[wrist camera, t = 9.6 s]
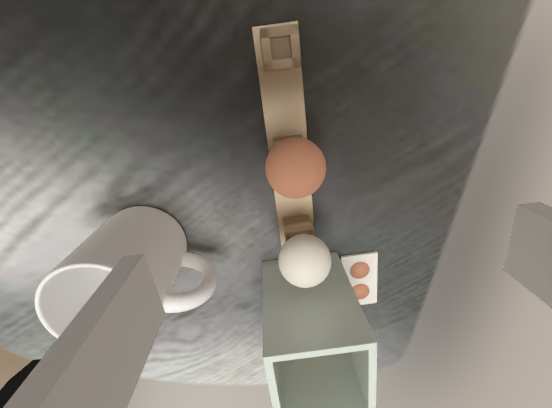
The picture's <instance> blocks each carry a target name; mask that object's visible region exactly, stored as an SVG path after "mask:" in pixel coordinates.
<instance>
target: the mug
mask: <svg viewBox="0 0 552 408" xmlns="http://www.w3.org/2000/svg"><path fill="white" fill-rule="evenodd" d="M186 251H187V241H186V237H185V234H184V231H183V230H182V228H181V226H180V225H179V224H178V222H177V221H176V220H175V219H174V218H172V217H171V216H170V215H168V214H167V213H165V212H163V211H161V210H158V209H156V208H152V207H146V206H136V207H130V208H126V209H124V210H121V211H119V212H118V213H116V214H115V215H113V216H112V217H111V218H109V219H108V220H107V221H106V222H105V223H104V224H103V225H101V226H100V227H99V228H98V229H97V230H96V231H95V232H94V233H93V234H92V235H91V236H89V237H88V238H87V239H86V240H85V241H84V242H83V243H82V244H81V245H80V246H78V247H77V248H76V249H75V250H74V251H73V252H72V253H71V254H70V255H69V256H67V257H66V258H65V259H64V260H63V261H62V262H61V263H60V264H59V265H58V266H57V267H55V268H54V269H53V270H52V271H51V272H50V273H49V274H48V275H47V276H46V277H45V278H44V279H43V280H42V281H41V283H40V284H39V286H38V288H37V291H36V294H35V308H36V312H37V315H38V317H39V319H40V321H41V323H42V324H43V325H44V327H45V328H46V329H47V330H48V331H49V332H50V333H51V334H52V335H53V336H55V337H56V338H57V339H58V337H59V336H60V335H61V334H62V332H63V331H64V330H65V329H66V327H67V326H68V325H69V324H70V322H71V321H72V320H73V318H74V317H75V316H76V315H77V313H78V312H79V311H80V310H81V308H82V307H83V306H84V305H85V303H86V302H87V301H88V299H89V298H90V297H91V296H92V294H93V293H94V292H95V291H96V289H97V288H98V287H99V286H100V284H101V283H102V282H103V281H104V279H105V278H106V277H107V275H108V274H109V273H110V272H111V270H112V269H113V268H114V267H115V265H116V264H117V263H118V262H119V260H120V259H121V258H122V257H123V256H128V255H136V254H145V257H146V259H147V262H148V265H149V268H150V271H151V274H152V277H153V279H154V282H155V285H156V288H157V291H158V294H159V297H160V299H161V302H162V305H163V308H164V311H165V313H176V312H183V311H187V310H191V309H193V308H196V307H198V306H200V305H201V304H203V303H204V302H205V301H207V300H208V299H209V298H210V297H211V296H212V294H213V293H214V291H215V289H216V287H217V283H218V274H217V270H216V268H215V267H214V265H213V264H212V263H211V262H210V261H209V260H208V259H206V258H204V257H202V256H200V255H197V254H193V253H189V252H186ZM181 267H189V268H193V269H196V270H198V271H200V272H201V273H202V274H203V277H204V279H203V282H202V284H201V285H200V286H199V287H198V288H196V289H194V290H192V291H189V292H183V293H174V292H171V290H172V288H173V285H174V283H175V281H176V278H177V276H178V273H179V271H180V268H181Z"/></svg>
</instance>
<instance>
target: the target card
mask: <svg viewBox="0 0 552 408" xmlns="http://www.w3.org/2000/svg"><path fill="white" fill-rule="evenodd" d="M377 261H378V252H377V251H374V252H366V253H359V254H351V255H344V256H341V263H342V265H343V267H344V269H345V272H346V274H347V276H348V278H349V281H350V283H351V285H352V287H353V290H354V292H355V294H356V296H357V299H358V301H359V303H360V305H363V304H371V303H377Z"/></svg>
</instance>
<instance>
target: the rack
mask: <svg viewBox="0 0 552 408" xmlns="http://www.w3.org/2000/svg"><path fill="white" fill-rule="evenodd" d="M252 31H253V39H254V46H255V53H256V61H257V68H258V76H259V83H260V91H261V98H262V106H263V113H264V121H265V128H266V136H267V143H268V151H269V153H270V151H271V150H272V148H273V147H274V146H275V145H277V144H278V143H279V142H281V141H283V140H285V139H288V138H295V137H298V138H304V139H307V129H306V117H305V104H304V92H303V79H302V66H301V53H300V41H299V28H298V21H294V22H286V23H279V24H271V25H264V26H256V27H252ZM274 195H275V203H276V210H277V218H278V225H279V233H280V240H281V247H282V246H283V245H284V243H285V242H286V241H287V240H289V239H290V238H291V237H293V236H296V235H299V234H309V235H313V236H315V230H314V217H313V205H312V194H311V195H309V196H307V197H304V198H299V199H292V198H287V197H284V196H282V195H280V194H279V193H277V192H276V191H275V190H274Z"/></svg>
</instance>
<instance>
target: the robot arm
mask: <svg viewBox="0 0 552 408" xmlns="http://www.w3.org/2000/svg"><path fill="white" fill-rule="evenodd" d="M503 270H504V271H505V272H506V273H507V274H509V275H510V276H511V277H513V278H514V279H515V280H516V281H518V282H519V283H521V284H522V285H523V286H524V287H525V288H527V289H528V290H529V291H531V292H532V293H533V294H534V295H536V296H537V297H538V298H540V299H541V300H542V301H543V302H545V303H546V304H547V305H548V306H550V307H551V308H552V207H550V206H548V205H545V204H543V203H541V202H536V203H528V204H520V205H517V210H516V214H515V219H514V224H513V228H512V232H511V237H510V242H509V246H508V250H507V255H506V260H505V264H504V269H503ZM164 316H165V311H164V308H163V305H162V302H161V299H160V297H159V294H158V291H157V288H156V285H155V282H154V279H153V277H152V274H151V271H150V268H149V265H148V262H147V259H146V257H145V254H136V255H128V256H123V257H122V258H121V259H120V260H119V262H118V263H117V264H116V265H115V267H114V268H113V269H112V270H111V272H110V273H109V274H108V275H107V277H106V278H105V279H104V281H103V282H102V283H101V284H100V286H99V287H98V288H97V289H96V291H95V292H94V293H93V294H92V296H91V297H90V298H89V299H88V301H87V302H86V303H85V305H84V306H83V307H82V308H81V310H80V311H79V312H78V313H77V315H76V316H75V317H74V318H73V320H72V321H71V322H70V324H69V325H68V326H67V327H66V329H65V330H64V331H63V332H62V334H61V335H60V336H59V337H58V339H57V340H56V341H55V342H54V344H53V345H52V346H51V348H50V349H49V350H48V351H47V353H46V354H45V355H44V356H43V358H42V359H38V360H33V361H31V362H30V363H29V364H28V365H27V366H25V367H24V368H23V369H22V370H21V371H19V372H18V373H17V374H16V375H15V376H13V377H12V378H11V379H10V380H9V381H8V382H7V383H6V384H5V385H4V387H3V388H2V389H1V390H0V408H127V406H128V404H129V401H130V399H131V396H132V394H133V392H134V389H135V387H136V384H137V382H138V380H139V377H140V375H141V372H142V370H143V367H144V365H145V363H146V360H147V358H148V355H149V353H150V350H151V348H152V346H153V343H154V341H155V338H156V336H157V333H158V331H159V328H160V326H161V324H162V321H163V319H164Z"/></svg>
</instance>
